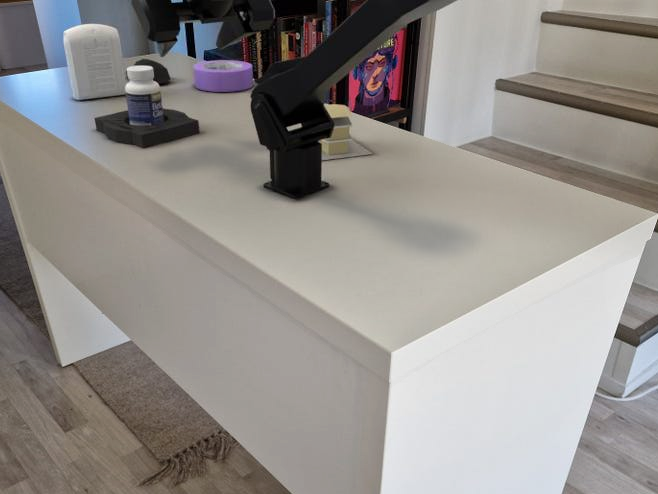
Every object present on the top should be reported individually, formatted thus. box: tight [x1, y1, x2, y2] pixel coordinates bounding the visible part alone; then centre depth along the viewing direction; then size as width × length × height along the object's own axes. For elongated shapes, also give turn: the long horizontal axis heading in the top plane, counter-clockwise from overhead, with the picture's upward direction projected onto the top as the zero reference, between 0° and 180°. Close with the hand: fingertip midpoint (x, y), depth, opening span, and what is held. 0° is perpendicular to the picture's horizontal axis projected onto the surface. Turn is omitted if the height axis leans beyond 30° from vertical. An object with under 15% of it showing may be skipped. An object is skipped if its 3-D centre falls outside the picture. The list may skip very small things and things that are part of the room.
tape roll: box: [192, 59, 254, 93], centre depth 133 cm, size 12×12×4 cm
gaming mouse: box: [125, 58, 172, 85], centre depth 137 cm, size 6×15×4 cm, turn 42°
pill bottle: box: [125, 65, 164, 126], centre depth 106 cm, size 5×5×10 cm
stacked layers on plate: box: [318, 103, 373, 161], centre depth 101 cm, size 10×9×6 cm
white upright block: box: [62, 23, 127, 101], centre depth 123 cm, size 10×4×12 cm, turn 123°
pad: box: [94, 107, 201, 149], centre depth 108 cm, size 13×13×2 cm
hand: (189, 50), depth 95 cm, fingers open, 9 cm apart
